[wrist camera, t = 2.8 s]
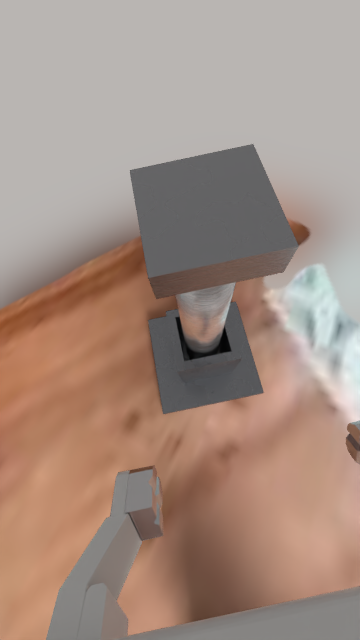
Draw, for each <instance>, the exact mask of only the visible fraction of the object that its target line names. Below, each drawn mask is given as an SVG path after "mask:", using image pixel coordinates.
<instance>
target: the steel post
mask: <svg viewBox="0 0 360 640" xmlns="http://www.w3.org/2000/svg"><path fill="white" fill-rule="evenodd" d="M130 175H131V181H132V186H133V193H134V198H135V204H136V210H137V215H138V221H139V227H140V233H141V239H142V245H143V250H144V256H145V262H146V268H147V274H148V279H149V281H150V284H151V287H152V289H153V292H154V294H155V297H156V299H159V298H164V297H168V296H173V295H175V296H176V301H177V305H178V310H179V315H180V320H181V324H182V329H183V334H184V339H185V343H186V350H187V355H188V357H189V360H193V359H198V358H202V357H207V356H212V355H217V353H218V347H219V343H220V340H221V336H222V332H223V329H224V325H225V321H226V317H227V314H228V310H229V306H230V302H231V299H232V295H233V291H234V288H235V284H236V282H239V281H244V280H249V279H253V278H258V277H263V276H268V275H272V274H277V273H282V272H284V270H285V269H286V267H287V265H288V263H289V262H290V260H291V258H292V257H293V255H294V253H295V252H296V250H297V248H298V244H297V241H296V239H295V237H294V235H293V232H292V230H291V228H290V226H289V223H288V221H287V219H286V217H285V214H284V212H283V210H282V208H281V206H280V203H279V201H278V199H277V197H276V194H275V192H274V190H273V188H272V185H271V183H270V181H269V179H268V176H267V174H266V172H265V170H264V167H263V165H262V163H261V161H260V158H259V156H258V154H257V152H256V149H255V147H254V145H253V144H252V145H247V146H242V147H237V148H232V149H228V150H223V151H218V152H213V153H209V154H204V155H199V156H195V157H190V158H185V159H181V160H176V161H171V162H166V163H162V164H157V165H153V166H148V167H143V168H139V169H134V170H130Z"/></svg>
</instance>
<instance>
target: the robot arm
mask: <svg viewBox="0 0 360 640" xmlns="http://www.w3.org/2000/svg"><path fill="white" fill-rule="evenodd" d="M347 430H348V432H349V433H350V434H349V435H348V436H347V437H346V445H347V449H348V451H349V453H350V455H351V456H352V458H353V459H354V460H355V461H356V462H357V463H359V464H360V421H357V422H352V423H349V424H348V426H347ZM162 504H163V496H162V487H161V482H160V479H159V477H157V471H156V468H155V466H149V467H144V468H138V469H133V470H128V471H123V472H118V474H117V476H116V481H115V488H114V494H113V501H112V507H111V514H110V517H108V518H106V519H105V521H104V522H103V524H102V525H101V527H100V528H99V530H98V531H97V533H96V534H95V536H94V537H93V539H92V541H91V542H90V544H89V545H88V547H87V548H86V550H85V551H84V553H83V554H82V556H81V557H80V559H79V560H78V562H77V564H76V565H75V567H74V568H73V570H72V571H71V573H70V574H69V576H68V577H67V579H66V580H65V582H64V583H63V585H62V586H61V588H60V590H59V592H58V596H57V600H56V604H55V607H54V611H53V615H52V619H51V623H50V627H49V630H48V634H47V638H46V640H360V586H358V587H353V588H348V589H344V590H339V591H334V592H330V593H325V594H320V595H316V596H311V597H306V598H302V599H297V600H292V601H288V602H283V603H278V604H273V605H269V606H264V607H259V608H255V609H250V610H245V611H241V612H236V613H231V614H227V615H222V616H217V617H213V618H208V619H203V620H199V621H194V622H189V623H185V624H180V625H175V626H171V627H166V628H161V629H157V630H152V631H147V632H143V633H138V634H133V635H129V636H127V632H128V618H127V617H126V615H125V613H124V612H123V610H122V609H121V607H120V606H119V604H118V603H117V599H118V596H119V594H120V592H121V589H122V587H123V585H124V583H125V580H126V578H127V576H128V573H129V571H130V569H131V566H132V564H133V562H134V560H135V557H136V555H137V553H138V550H139V548H140V546H141V544H142V541H143V540H147V539H151V538H155V537H159V536H163V514H162V512H161V509H160V508H161V506H162Z"/></svg>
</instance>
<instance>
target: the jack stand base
mask: <svg viewBox="0 0 360 640" xmlns="http://www.w3.org/2000/svg"><path fill="white" fill-rule="evenodd" d="M166 315H167V316H165V317H161V318H156V319H151V320H148V322H149V329H150V335H151V341H152V347H153V353H154V360H155V366H156V372H157V378H158V384H159V391H160V397H161V403H162V409H163V414H167V413H172V412H177V411H181V410H186V409H191V408H196V407H200V406H205V405H210V404H215V403H219V402H224V401H229V400H234V399H238V398H243V397H248V396H253V395H257V394H262V393H264V392H263V389H262V385H261V382H260V379H259V376H258V372H257V369H256V366H255V362H254V359H253V356H252V353H251V349H250V346H249V343H248V340H247V336H246V333H245V330H244V327H243V323H242V320H241V317H240V313H239V310H238V307H237V304H236V302H232V303H230V306H229V310H228V314H227V317H226V321H225V325H224V329H223V332H222V336H221V340H220V343H219V347H218V353H217V355H212V356H207V357H202V358H198V359H193V360H189V357H188V355H187V350H186V343H185V339H184V334H183V329H182V324H181V320H180V315H179V310H178V309H175V310H171V311H166Z"/></svg>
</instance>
